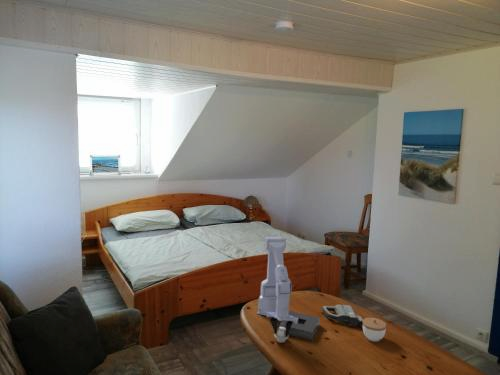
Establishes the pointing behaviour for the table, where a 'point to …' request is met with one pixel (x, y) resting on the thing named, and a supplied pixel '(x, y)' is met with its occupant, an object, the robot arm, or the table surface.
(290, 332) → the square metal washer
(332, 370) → the table surface
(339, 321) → the portable electronic device
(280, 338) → the flanged cylindrical plug
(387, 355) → the table surface
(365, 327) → the lidded jar
